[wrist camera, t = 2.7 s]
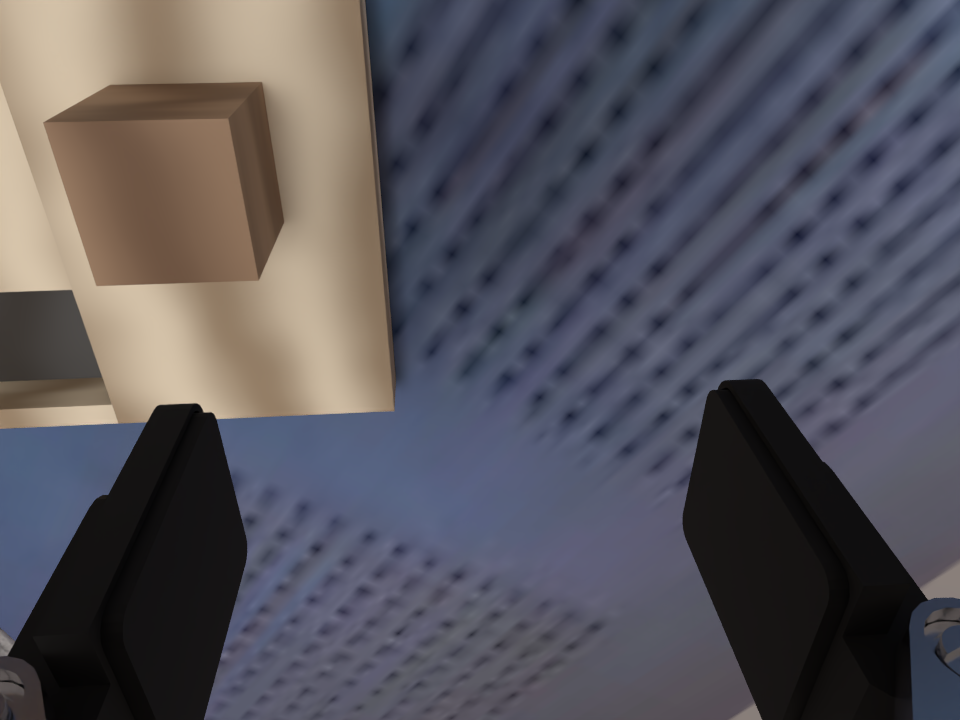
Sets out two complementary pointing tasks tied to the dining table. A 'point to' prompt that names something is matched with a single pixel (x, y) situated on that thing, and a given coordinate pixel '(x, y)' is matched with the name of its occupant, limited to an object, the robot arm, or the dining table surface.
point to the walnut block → (170, 181)
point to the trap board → (211, 305)
